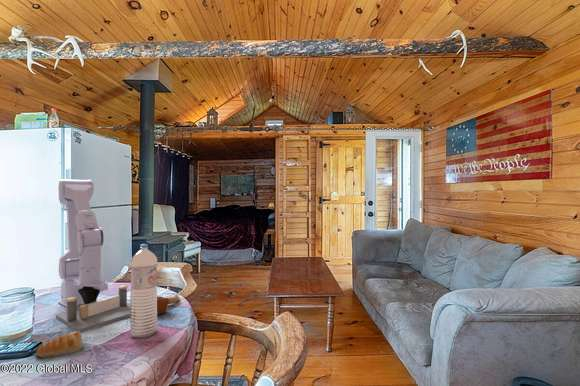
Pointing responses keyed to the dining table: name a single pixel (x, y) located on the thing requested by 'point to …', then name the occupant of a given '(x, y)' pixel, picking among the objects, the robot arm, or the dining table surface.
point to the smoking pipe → (164, 303)
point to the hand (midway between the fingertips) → (90, 310)
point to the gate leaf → (98, 306)
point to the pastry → (61, 345)
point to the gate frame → (98, 319)
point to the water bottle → (143, 293)
